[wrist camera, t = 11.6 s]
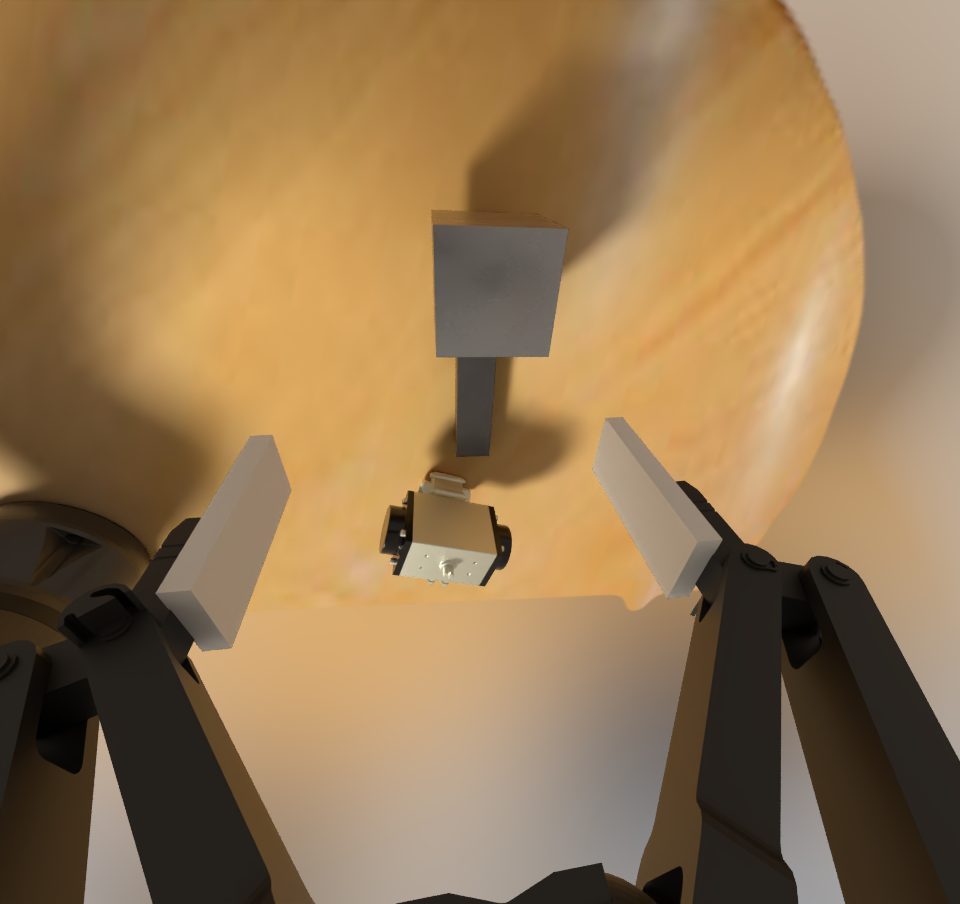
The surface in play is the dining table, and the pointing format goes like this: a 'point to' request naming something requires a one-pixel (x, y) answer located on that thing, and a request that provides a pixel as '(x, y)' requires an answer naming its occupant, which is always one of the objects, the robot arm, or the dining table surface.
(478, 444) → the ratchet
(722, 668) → the robot arm
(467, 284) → the gray cube
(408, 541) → the pneumatic valve
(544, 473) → the dining table surface
